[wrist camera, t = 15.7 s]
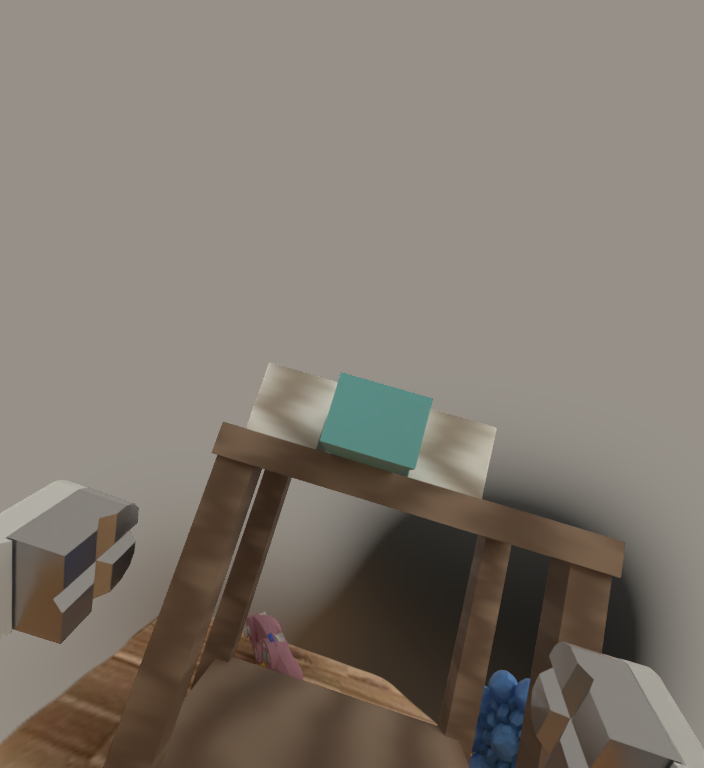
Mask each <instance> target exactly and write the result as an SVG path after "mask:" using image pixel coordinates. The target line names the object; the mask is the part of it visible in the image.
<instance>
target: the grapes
mask: <svg viewBox="0 0 704 768" xmlns="http://www.w3.org/2000/svg"><path fill="white" fill-rule="evenodd" d="M529 683H530V679H524V680H522V681H521V682H519V683H517V681H516V679H515V677H514V676H513V675H512V674H510V673H509V672H508V671H502V670H499V671H497V672H496V673H494V674H493V675H492V677H491V679H490V680H489V688H488V687H487V686H484V690H483V695H482V700H481V705H480V710H479V716H478V721H477V726H476V731H475V736H474V741H473V747H472V752H477V753H475V754H473V755H472V756H471V757H470V762H469V767H470V768H515V766H516V760H517V754H518V748H519V742H520V736H521V730H522V725H523V719H524V713H525V707H526V701H527V695H528V689H529Z"/></svg>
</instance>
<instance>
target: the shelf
mask: <svg viewBox="0 0 704 768" xmlns="http://www.w3.org/2000/svg"><path fill="white" fill-rule="evenodd" d="M336 387H337V382H336V381H332V380H329V379H325V378H322V377H318V376H315V375H311V374H308V373H304V372H301V371H297V370H294V369H290V368H287V367H284V366H280V365H277V364H273V363H269V365H268V368H267V371H266V374H265V376H264V379H263V382H262V385H261V388H260V391H259V393H258V396H257V399H256V402H255V404H254V407H253V410H252V413H251V416H250V418H249V422H248V424H247V427H246V428H243V427H239V426H236V425H232V424H229V423H226V422H223V423H222V426H221V429H220V431H219V434H218V437H217V439H216V442H215V445H214V448H213V451H212V453H214V454H217V458H216V461H215V463H214V466H213V469H212V472H211V475H210V477H209V480H208V483H207V485H206V488H205V491H204V494H203V496H202V499H201V502H200V504H199V507H198V510H197V513H196V515H195V518H194V521H193V523H192V526H191V529H190V532H189V534H188V537H187V540H186V543H185V545H184V548H183V551H182V553H181V556H180V559H179V562H178V565H177V567H176V570H175V573H174V575H173V578H172V581H171V584H170V586H169V589H168V592H167V594H166V597H165V600H164V603H163V605H162V608H161V611H160V614H159V616H158V619H157V622H156V625H155V627H154V630H153V633H152V635H151V638H150V641H149V644H148V646H147V649H146V652H145V655H144V657H143V660H142V663H141V665H140V668H139V671H138V674H137V676H136V679H135V682H134V685H133V687H132V690H131V693H130V696H129V698H128V701H127V704H126V706H125V709H124V712H123V715H122V717H121V720H120V723H119V726H118V728H117V731H116V734H115V737H114V739H113V742H112V745H111V747H110V750H109V753H108V756H107V758H106V761H105V764H104V767H103V768H470V767H469V762H470V757H471V752H472V747H473V741H474V736H475V731H476V726H477V721H478V716H479V710H480V705H481V700H482V695H483V690H484V684H485V679H486V674H487V668H488V664H489V658H490V653H491V648H492V643H493V638H494V632H495V627H496V622H497V617H498V611H499V606H500V601H501V596H502V591H503V585H504V581H505V575H506V570H507V565H508V560H509V555H510V549H511V545H515V546H518V547H521V548H525V549H528V550H531V551H534V552H538V553H541V554H544V555H547V556H551V560H550V566H549V572H548V578H547V584H546V590H545V596H544V601H543V607H542V613H541V619H540V625H539V631H538V637H537V642H536V648H535V654H534V660H533V666H532V672H531V678H530V683H529V689H528V695H527V701H526V707H525V713H524V719H523V725H522V730H521V736H520V742H519V748H518V754H517V760H516V766H515V768H544V767H545V764H546V762H547V759H548V757H549V753H548V752H547V750H546V749H545V748H544V746H543V745H542V744H541V742H540V741H539V739H538V738H537V737H536V734H535V730H534V726H533V722H532V714H531V698H532V690H533V686H534V684H535V682H536V680H537V678H538V676H539V674H540V673H542V672H544V671H546V670H549V669H551V668H553V667H552V663H551V660H550V657H549V655H550V653H551V652H552V650H553V648H554V646H555V645H556V644H558V643H559V642H561V641H564V642H567V643H570V644H573V645H576V646H580V647H583V648H586V649H589V650H592V651H596V652H599V653H602V645H603V638H604V631H605V624H606V616H607V609H608V602H609V594H610V587H611V579H612V575H613V576H616V577H619V578H621V571H622V564H623V556H624V549H625V542H623V541H619V540H616V539H613V538H609V537H606V536H602V535H599V534H596V533H592V532H589V531H586V530H583V529H579V528H576V527H573V526H569V525H566V524H562V523H559V522H555V521H553V520H549V519H546V518H542V517H539V516H536V515H533V514H529V513H526V512H523V511H519V510H516V509H513V508H509V507H506V506H503V505H499V504H496V503H493V502H489V501H486V500H482V494H483V490H484V485H485V480H486V475H487V471H488V466H489V462H490V457H491V452H492V447H493V442H494V438H495V433H496V428H495V427H492V426H489V425H485V424H481V423H478V422H475V421H471V420H468V419H464V418H461V417H457V416H454V415H450V414H446V413H443V412H440V411H436V410H433V409H430V413H429V417H428V421H427V425H426V429H425V432H424V436H423V440H422V444H421V448H420V452H419V456H418V460H417V464H416V468H415V469H414V470H407V471H401V472H395V473H393V472H389V471H386V470H383V469H379V468H376V467H373V466H369V465H366V464H363V463H359V462H356V461H353V460H349V459H346V458H343V457H339V456H336V455H333V454H329V452H328V450H327V449H326V448H325V447H324V445H323V444H322V443H321V442H320V438H321V435H322V432H323V429H324V426H325V422H326V419H327V416H328V413H329V410H330V406H331V403H332V400H333V397H334V394H335V390H336ZM262 468H263V469H265V471H264V474H263V477H262V480H261V483H260V486H259V489H258V492H257V495H256V498H255V501H254V504H253V507H252V510H251V513H250V516H249V519H248V521H247V524H246V528H245V530H244V534H243V536H242V539H241V542H240V545H239V548H238V551H237V554H236V557H235V560H234V563H233V566H232V569H231V572H230V575H229V578H228V581H227V584H226V587H225V590H224V593H223V596H222V599H221V602H220V605H219V608H218V611H217V613H216V616H215V619H214V622H213V625H212V628H211V631H210V634H209V637H208V640H207V643H206V646H205V649H204V652H203V655H202V658H201V661H200V664H199V667H198V670H197V673H196V676H195V679H194V682H193V685H192V688H191V691H190V692H189V694H188V695H187V696H186V698H185V695H186V692H187V689H188V686H189V683H190V680H191V677H192V674H193V671H194V668H195V665H196V662H197V659H198V656H199V653H200V650H201V647H202V645H203V642H204V639H205V636H206V633H207V630H208V627H209V624H210V621H211V618H212V615H213V612H214V609H215V606H216V603H217V600H218V597H219V594H220V591H221V588H222V585H223V582H224V580H225V577H226V574H227V571H228V568H229V565H230V562H231V559H232V555H233V553H234V550H235V547H236V544H237V541H238V538H239V535H240V532H241V529H242V526H243V523H244V520H245V518H246V515H247V511H248V509H249V506H250V503H251V500H252V497H253V494H254V491H255V488H256V485H257V482H258V479H259V476H260V473H261V470H262ZM291 478H295V479H299V480H302V481H306V482H309V483H312V484H315V485H318V486H322V487H325V488H328V489H332V490H335V491H338V492H341V493H345V494H348V495H351V496H355V497H358V498H361V499H364V500H368V501H371V502H374V503H377V504H381V505H384V506H387V507H390V508H394V509H397V510H400V511H403V512H407V513H410V514H413V515H417V516H420V517H423V518H426V519H430V520H433V521H436V522H439V523H443V524H446V525H450V526H453V527H456V528H459V529H462V530H466V531H469V532H472V533H476V534H478V539H477V544H476V548H475V553H474V558H473V563H472V567H471V572H470V577H469V581H468V586H467V591H466V595H465V600H464V605H463V610H462V614H461V619H460V624H459V628H458V633H457V638H456V643H455V647H454V652H453V657H452V662H451V666H450V671H449V676H448V681H447V685H446V691H445V695H444V700H443V704H442V709H441V714H440V718H439V723H438V726H436V725H433V724H430V723H427V722H424V721H421V720H418V719H415V718H412V717H409V716H406V715H403V714H400V713H397V712H394V711H391V710H388V709H385V708H382V707H380V706H377V705H374V704H371V703H368V702H365V701H362V700H359V699H356V698H353V697H350V696H347V695H344V694H341V693H338V692H335V691H332V690H329V689H326V688H323V687H321V686H318V685H315V684H312V683H309V682H306V681H303V680H300V679H297V678H294V677H291V676H288V675H285V674H282V673H279V672H276V671H273V670H270V669H267V668H264V667H261V666H259V665H256V664H253V663H250V662H247V661H244V660H241V659H238V658H235V657H234V656H235V653H236V650H237V646H238V643H239V640H240V637H241V634H242V631H243V628H244V625H245V622H246V618H247V615H248V612H249V609H250V606H251V603H252V600H253V597H254V593H255V590H256V587H257V584H258V581H259V578H260V575H261V571H262V569H263V565H264V562H265V559H266V556H267V553H268V550H269V547H270V544H271V540H272V537H273V534H274V531H275V528H276V525H277V522H278V519H279V515H280V512H281V509H282V506H283V503H284V500H285V497H286V494H287V491H288V487H289V484H290V481H291ZM184 698H185V699H184Z"/></svg>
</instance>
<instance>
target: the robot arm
mask: <svg viewBox="0 0 704 768" xmlns="http://www.w3.org/2000/svg"><path fill="white" fill-rule="evenodd" d="M138 510H139V508H138V507H137V506H136V505H135V504H134V503H131V502H128V501H126V500H123V499H120V498H117V497H114V496H111V495H108V494H106V493H103V492H100V491H97V490H94V489H91V488H86V487H84V486H81V485H78V484H75V483H73V482H70V481H67V480H60V481H55V482H53V483H51V484H49V485H48V486H46V487H44V488H43V489H41V490H39V491H38V492H36V493H34V494H32V495H31V496H29V497H27V498H25V499H24V500H22V501H20V502H19V503H17V504H15V505H13V506H12V507H10V508H8V509H7V510H5V511H3V512H2V513H0V638H1V637H3V636H5V635H7V634H9V633H11V632H12V629H14V630H18V631H21V632H24V633H27V634H30V635H33V636H37V637H40V638H43V639H46V640H49V641H53V642H56V643H59V644H61V643H62V642H63V641H64V640H65V639H66V638H67V636H69V635H70V634H71V632H72V631H73V630H74V629H75V628H76V627H77V626H78V625H79V624H80V623H81V622H82V621H83V620H84V619H85V618H86V617H87V616H88V615H89V614H90V612H91V610H92V600H93V599H94V598H96V597H98V596H101V595H104V594H106V593H108V592H110V591H111V590H112V589H113V588H114V587H115V586H116V585H117V583H118V582H119V581H120V580H121V579H122V577H123V575H124V574H125V572H126V570H127V569H128V567H129V565H130V563H131V560H132V557H133V554H134V550H135V542H136V541H135V539H134V537H133V535H132V534H131V532H130V529H131V528H132V527H133V526H135V525H136V524H137V523H138ZM549 657H550V660H551V663H552V667H553V668H551V669H549V670H546V671H544V672H542V673H540V674H539V676H538V678H537V680H536V682H535V684H534V686H533V690H532V698H531V714H532V722H533V726H534V730H535V734H536V737H537V738H538V739H539V741H540V742H541V744H542V745H543V746H544V748H545V749H546V750H547V752H548V753H549V757H548V759H547V762H546V764H545V767H544V768H704V749H703V747H702V746H701V744H700V742H699V741H698V739H697V738H696V736H695V734H694V733H693V731H692V729H691V728H690V726H689V724H688V723H687V721H686V720H685V718H684V716H683V715H682V713H681V711H680V710H679V708H678V707H677V705H676V703H675V702H674V700H673V698H672V697H671V695H670V693H669V692H668V690H667V689H666V687H665V685H664V684H663V682H662V680H661V679H660V677H659V676H658V675H657V674H656V673H655V672H654V671H653V670H652V669H651V668H649V667H646V666H643V665H640V664H636V663H633V662H630V661H626V660H623V659H617V658H614V657H611V656H608V655H605V654H602V653H599V652H596V651H592V650H589V649H586V648H583V647H580V646H576V645H573V644H570V643H567V642H564V641H561V642H559V643H558V644H556V645H555V646H554V648H553V650H552V652H551V653H550V655H549Z"/></svg>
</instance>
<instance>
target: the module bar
mask: <svg viewBox="0 0 704 768" xmlns="http://www.w3.org/2000/svg"><path fill="white" fill-rule="evenodd" d="M432 401H433V399H432V398H429V397H426V396H422V395H419V394H415V393H411V392H408V391H405V390H401V389H398V388H394V387H390V386H387V385H383V384H380V383H377V382H373V381H369V380H366V379H363V378H359V377H356V376H352V375H348V374H345V373H341V374H340V378H339V381H338V384H337V387H336V390H335V394H334V397H333V400H332V403H331V406H330V410H329V413H328V416H327V419H326V422H325V426H324V429H323V432H322V435H321V438H320V442H321V443H322V444H323V445H324V447H325V448H326V449H327V450H328V452H329V453H330V454H333V455H336V456H339V457H343V458H346V459H349V460H353V461H356V462H359V463H363V464H366V465H369V466H373V467H376V468H379V469H383V470H386V471H389V472H393V473H395V472H401V471H407V470H414V469H415V468H416V464H417V460H418V456H419V452H420V448H421V444H422V440H423V436H424V432H425V429H426V425H427V421H428V417H429V413H430V409H431V405H432Z"/></svg>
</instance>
